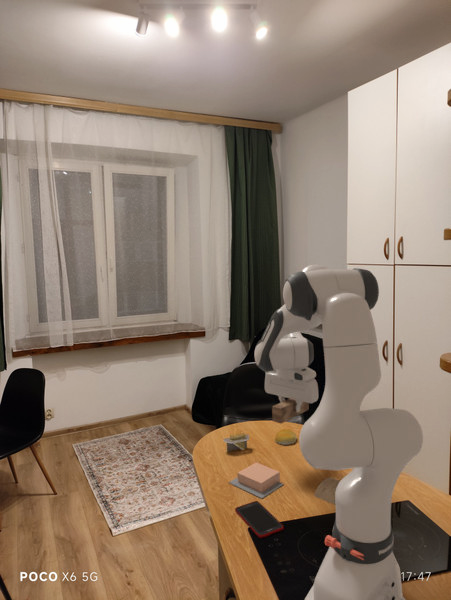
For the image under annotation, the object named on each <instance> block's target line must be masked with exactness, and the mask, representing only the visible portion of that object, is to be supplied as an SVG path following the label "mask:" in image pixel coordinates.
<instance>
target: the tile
mask: <svg viewBox="0 0 451 600" xmlns="http://www.w3.org/2000/svg"><path fill="white" fill-rule="evenodd" d="M237 477H238V482H240V483H242V484H244V485H246V486H248V487H250V488H253V489H255V490H257V491H259V492H261V493H262V492H263V491H265V490H266V489H268V488H269V487H271V486H273V485H274V484H276V483H277V482H281V481H280V480H281V477H280V471H278V470H275V469H273V468H271V467H268V466H266V465H263V464H261V463H259V462H254V463H253V464H251V465H249V466H247V467H245V468H244V469H242V470H240V471H238V472H237Z"/></svg>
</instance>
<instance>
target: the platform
mask: <svg viewBox="0 0 451 600" xmlns="http://www.w3.org/2000/svg"><path fill="white" fill-rule="evenodd" d="M249 439H250V435H249V434H246V433H245V432H240V433H239V432H238V433H237V435H236V436H235V434H234V433H233V434H229V437H226V438H223V442H224V443H226V452H231V451H232V450H233V451H237V450H241V451H246V449H247V448H248V441H249Z"/></svg>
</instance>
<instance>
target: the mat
mask: <svg viewBox="0 0 451 600" xmlns="http://www.w3.org/2000/svg"><path fill="white" fill-rule="evenodd" d="M228 484H230V485H232V486H234V487H236V488H237V489H241V490H242V491H245V492H247V493H249V494H251V495H253V496H256V497H257V498H260V499H261V500H262V499H264V498H265V497H267V496H268V495H270V494H272V493H273V492H275V491H277V489H280V488H281V487H282V486H284V483H283V482H281V481H279V482H277V483H276V484H274V485H273V486H271V487H269V488H268V489H266V490H265V491H263V492H262V493H261V492H259V491H257V490H255V489H253V488H250V487H248V486H246V485H244V484H242V483H240V482H238V476H237V477H236V478H234V479H232V480H230V481H229V482H228Z"/></svg>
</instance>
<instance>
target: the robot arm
mask: <svg viewBox="0 0 451 600" xmlns="http://www.w3.org/2000/svg"><path fill="white" fill-rule="evenodd" d="M283 284H284V285H283V289H282V297H283V303H284V304H283V305H282V306H281V307H280V308H278V309H277V310H275V311H274V313H273V314H272V315H271V318H270V320H269V321H268V323H267V325H266V328H265V330H264V332H263V334H262V336H261V339H259V341H257V343H256V345H255V349H254V361H255V365H256V366H257V367H258V368H259V369H260V370H262V371H263V372H265V376H264V377H265V378H264V391H265V393H267V394H269V395H273V396H274V395H275V396H277V397H278V400H279V403H281V402H283V401H285V400H286V398H287V399H294V400H296V403H297V405H296V406H294V412H300V406H301V404H302V402H307V403H309V404H313V403H315V402H317V401H318V399H319V386H318V385H319V384H318V382H317V380H316V379H315V378H316V377H317V373H316V371H315V370H313V369H312V368H310V367H309V366H310V365H311V364H312V363H313V361H314V358H315V354H314V353H315V350H314V343H312V342H311V341H310V340H309V339H308V338H306V337H304V336H303V335H302V333H301V332H302V331H308V330H312V329H315V328H317V327H319V326H321V327H322V329H321V330H322V347H323V353H324V354H323V356H324V367H325V368H324V369H325V371H324V372H325V383H324V384H325V385H324V391H323V394H322V397H321V400H320V403H319V405H318V407H317V408H316V410H315V411H314V413H313V414H312V415H311V416H310V417H309V418H308V419H307V420H306V421H305V422H304V424H303V425H302V427H301V429H300V433H299V440H298V443H299V448H300V452H301V454H302V456H303V458H304V459H305V461H306V463H308V465H309V466H311V468H313V469H316V470H322V471H323V470H325V471H326V470H327V471H343V470H349V469H352V470H351V471H350V472H349V473H348V474H346V475H345V476H344V477H343V478H342V479H341V480H340V482H339V484H338V486H337V488H336V492H335V504H336V505H335V520H334V521H333V522H334V523H333V528H332V533H331V534H332V535H331V534H330V535H329V534H328V535H326V536H325V538H324V544H325V546H327V547H328V549H327V552H326V553H325V556H324V558H323V559H322V562H321V564H320V566H319V569H318V572H317V573H316V576H315V578H314V582H313V585H312V586H311V588H310V590H309V591H308V593H307V595H306V596H305V598H304V600H407V599H406V598H405V597H404V596H403V595H404V594H403V586H402V577H401V576H402V575H401V568H400V565H399V563H398V561H397V559H396V556H395V554H394V551H393V550H394V542H395V541H394V539H395V537H394V530H393V528H392V525H391V523H392V522H391V516H392V514H391V512H392V511H391V510H392V509H391V508H392V496H393V493H394V489H395V487H396V485H397V481H398V479H399V477H400V475H401V473H402V472H403V471H404V469H405V468H406V466H407V465H408V464H409V463H410V461H412V460H413V459H414V458H415V457H416V456H417V455H418V454H419V453H420V452H421V450H422V447H423V443H424V433H423V430H422V426H421V425H420V423H419V421H418V420H417V418H416V416H414V414H412V413H411V412H410V411H408V410H405V409H399V408H388V407H382V408H374V409H363V410H361V405H362V403H363V401H364V399H365V397H366V396H367V395H368V394H369V393H371V392H372V391H374V390H375V389H376V388H377V387H378V386H379V384H380V381H381V379H382V371H381V362H380V355H379V346H378V338H377V333H376V327H375V323H374V319H373V316H372V312H371V310H373V309H374V308H375V306H376V304H377V302H378V300H379V294H380V289H379V283H378V280H377V278H376V276H375V275H374V274H373V273H372V272H371V271H370V270H368V269H365V268H358V267H357V268H356V267H354V268H352V269H350V268H349V269H348V268H328V267H327V266H325V265H323V264H316V263H314V264H310V265H307V266H305V267H304V268H303V269H302V270H301V271H297V272H294V273H291V274H289V275H288V276H287V277H286V279H285V281H284V283H283Z"/></svg>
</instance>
